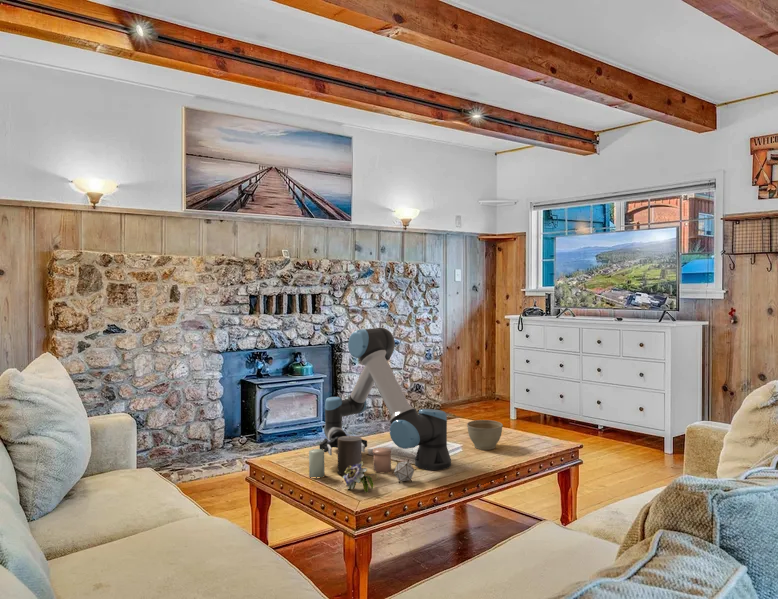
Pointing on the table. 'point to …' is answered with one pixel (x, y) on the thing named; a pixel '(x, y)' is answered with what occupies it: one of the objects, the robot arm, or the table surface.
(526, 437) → the table surface
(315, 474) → the pale green cylinder
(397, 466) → the game die
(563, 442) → the table surface
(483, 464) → the table surface
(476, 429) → the planter bowl
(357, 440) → the pillar candle
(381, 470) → the peach round-topped cylinder
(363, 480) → the passion flower
